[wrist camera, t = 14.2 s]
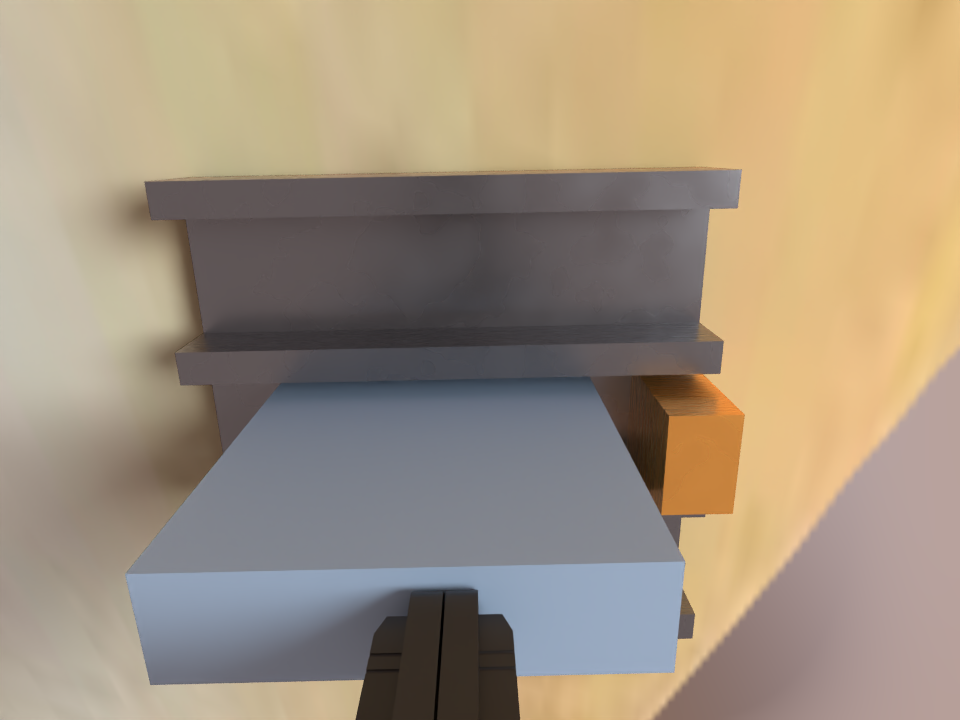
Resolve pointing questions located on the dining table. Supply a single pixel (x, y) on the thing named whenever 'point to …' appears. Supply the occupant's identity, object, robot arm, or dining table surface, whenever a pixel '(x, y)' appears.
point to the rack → (473, 298)
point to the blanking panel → (412, 534)
